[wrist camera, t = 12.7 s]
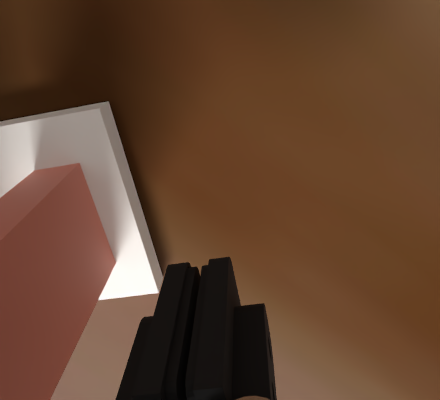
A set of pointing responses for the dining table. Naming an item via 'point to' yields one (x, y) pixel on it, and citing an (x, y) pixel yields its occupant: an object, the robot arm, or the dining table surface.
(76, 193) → the red domino
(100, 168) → the board
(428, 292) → the dining table surface
